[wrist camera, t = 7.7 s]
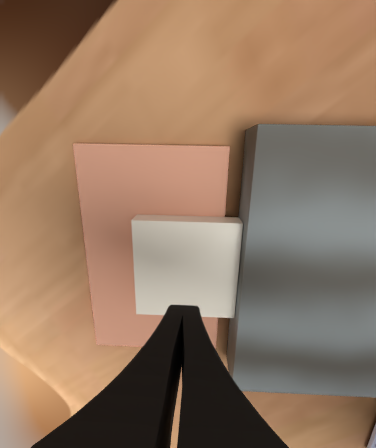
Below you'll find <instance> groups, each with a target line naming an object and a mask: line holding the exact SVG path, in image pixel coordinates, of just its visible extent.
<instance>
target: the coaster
mask: <svg viewBox="0 0 376 448" xmlns="http://www.w3.org/2000/svg"><path fill="white" fill-rule="evenodd" d="M131 224H132V243H133V262H134V281H135V299H136V314H146V315H165V313H166V311H167V309H168V307H169V306H170V305H193V306H198V307H199V309H200V314H201V317H220V318H234V315H235V305H236V294H237V283H238V272H239V262H240V251H241V240H242V229H243V223H242V221H241V220H240V218H239V217H210V216H175V215H140V214H137V215H136V216H135V217H134V218H133V219H132V220H131Z"/></svg>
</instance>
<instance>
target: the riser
mask: <svg viewBox="0 0 376 448" xmlns="http://www.w3.org/2000/svg"><path fill="white" fill-rule="evenodd" d="M238 217H239V218H240V220H241V221H242V223H243V229H242V240H241V251H240V262H239V272H238V283H237V294H236V305H235V315H234V318H230V321H229V332H228V344H227V363H228V370H229V374H230V375H231V377H232V378H233V380H234V381H235V383H236V384H237V386H238V387H239V389H240V390H241V391H253V392H273V393H293V394H314V395H334V396H355V397H375V398H376V126H343V125H284V124H257V125H255V126H253V127H251V128H249V129H247V130H246V135H245V147H244V158H243V170H242V181H241V193H240V205H239V216H238Z"/></svg>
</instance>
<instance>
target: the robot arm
mask: <svg viewBox="0 0 376 448" xmlns="http://www.w3.org/2000/svg"><path fill="white" fill-rule="evenodd" d="M181 367H182V398H181V410H180V422H179V433H178V444H177V448H289V447H288V446H287V445H286V444H285V443H284V442H283V441H282V440H281V439H280V438H279V436H278V435H277V434H276V433H275V432H274V431H273V430H272V429H271V427H270V426H269V425H268V424H267V423H266V422H265V420H264V419H263V418H262V417H261V416H260V415H259V413H258V412H257V411H256V409H255V408H254V407H253V406H252V404H251V403H250V402H249V400H248V399H247V398H246V397H245V395H244V394H243V393H242V391H241V390H240V389H239V387H238V386H237V384H236V383H235V381H234V380H233V378H232V377H231V375H230V374H229V372H228V371H227V369H226V367H225V366H224V364H223V362H222V361H221V359H220V357H219V355H218V353H217V352H216V350H215V348H214V346H213V344H212V342H211V340H210V337H209V335H208V333H207V331H206V328H205V326H204V323H203V320H202V317H201V314H200V309H199V307H198V306H193V305H170V306H169V307H168V309H167V311H166V313H165V315H164V316H163V318H162V320H161V321H160V323H159V325H158V326H157V328H156V329H155V331H154V332H153V334H152V335H151V337H150V338H149V339H148V341H147V342H146V343H145V345H144V346H143V347H142V348H141V350H140V351H139V352H138V353H137V355H136V356H135V357H134V358H133V359H132V361H131V362H130V363H129V364H128V365H127V366H126V367H125V368H124V369H123V370H122V372H121V373H120V374H119V375H118V376H117V377H116V378H115V379H114V380H113V381H112V382H111V383H110V384H109V385H108V386H106V387H105V388H104V389H103V390H102V391H101V392H100V393H99V394H98V395H97V396H95V397H94V398H93V399H92V400H91V401H90V402H88V403H87V404H86V405H85V406H84V407H83V408H81V409H80V410H79V411H78V412H77V413H76V414H74V415H73V416H72V417H71V418H69V419H68V420H67V421H65V422H64V423H63V424H61V425H60V426H59V427H57V428H56V429H55V430H53V431H52V432H51V433H49V434H48V435H47V436H45V437H44V438H43V439H41V440H40V441H38V442H37V443H35V444H34V445H33V446H32V447H31V448H170V444H171V432H172V424H173V417H174V411H175V405H176V398H177V392H178V386H179V379H180V373H181ZM367 448H376V424H375V427H374V429H373V432H372V435H371V438H370V440H369V443H368V446H367Z"/></svg>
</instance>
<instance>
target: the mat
mask: <svg viewBox="0 0 376 448" xmlns="http://www.w3.org/2000/svg"><path fill="white" fill-rule="evenodd" d="M73 149H74V158H75V166H76V175H77V183H78V192H79V200H80V209H81V217H82V226H83V234H84V243H85V251H86V260H87V268H88V277H89V285H90V294H91V302H92V311H93V319H94V328H95V336H96V345H112V346H135V347H143V346H144V345H145V343H146V342H147V341H148V339H149V338H150V337H151V335H152V334H153V332H154V331H155V329H156V328H157V326H158V325H159V323H160V321H161V320H162V318H163V316H164V315H146V314H136V299H135V281H134V262H133V243H132V224H131V220H132V219H133V218H134V217H135V216H136V215H137V214H140V215H175V216H210V217H225V208H226V194H227V179H228V164H229V150H230V146H186V145H135V144H84V143H73ZM202 320H203V323H204V326H205V328H206V331H207V333H208V335H209V337H210V340H211V342H212V344H213V346H214V348H215V350H216V340H217V325H218V317H202Z"/></svg>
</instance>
